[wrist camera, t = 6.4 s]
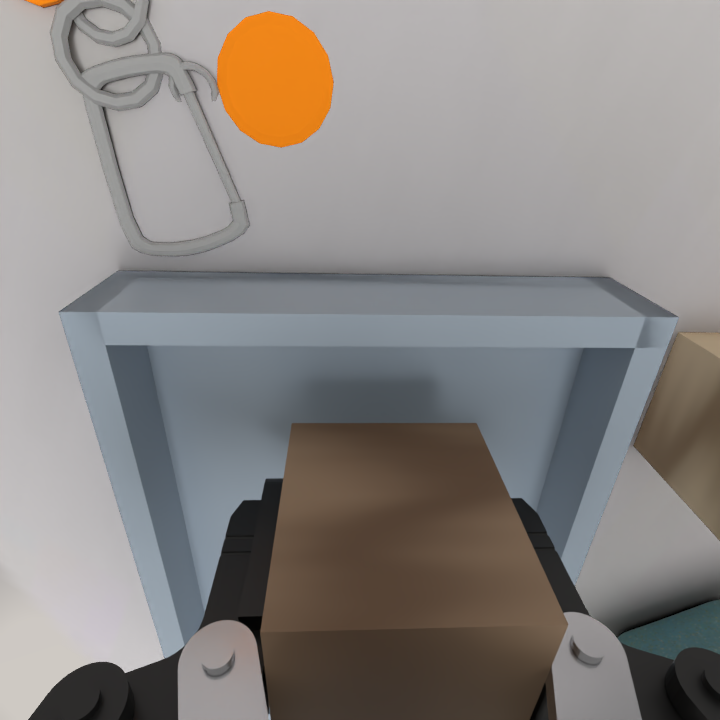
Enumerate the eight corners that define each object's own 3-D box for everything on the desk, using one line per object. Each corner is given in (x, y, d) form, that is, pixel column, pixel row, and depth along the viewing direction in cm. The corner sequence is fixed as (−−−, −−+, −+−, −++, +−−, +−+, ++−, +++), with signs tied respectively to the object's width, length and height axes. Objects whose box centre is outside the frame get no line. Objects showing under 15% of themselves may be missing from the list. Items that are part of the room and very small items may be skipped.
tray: (501, 641, 22) (525, 714, 19) (204, 650, 21) (185, 727, 18) (610, 277, 13) (679, 317, 11) (117, 270, 12) (58, 312, 10)
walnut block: (476, 422, 11) (568, 625, 7) (453, 548, 13) (510, 764, 9) (291, 423, 11) (260, 632, 6) (297, 550, 13) (277, 774, 9)
